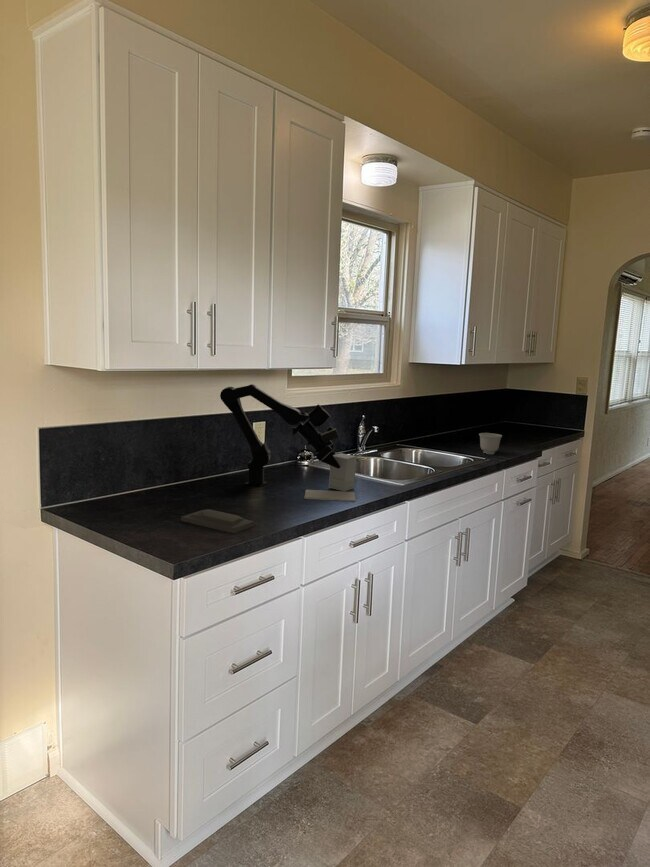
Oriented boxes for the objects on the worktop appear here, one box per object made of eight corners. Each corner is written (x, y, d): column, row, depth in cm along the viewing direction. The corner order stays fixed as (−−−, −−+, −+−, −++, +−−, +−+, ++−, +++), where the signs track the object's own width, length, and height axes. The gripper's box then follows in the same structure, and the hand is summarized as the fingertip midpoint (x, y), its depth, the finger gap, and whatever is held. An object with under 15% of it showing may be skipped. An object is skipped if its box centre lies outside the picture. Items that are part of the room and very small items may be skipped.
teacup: (494, 450, 351) (496, 432, 350) (503, 456, 337) (505, 436, 335) (472, 450, 351) (474, 431, 349) (481, 455, 336) (482, 435, 334)
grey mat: (304, 498, 230) (304, 497, 229) (305, 490, 241) (305, 489, 241) (355, 501, 229) (355, 500, 229) (354, 493, 241) (354, 492, 241)
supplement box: (354, 488, 249) (357, 456, 246) (344, 492, 243) (347, 458, 240) (338, 484, 253) (341, 452, 250) (327, 487, 247) (330, 455, 244)
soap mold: (203, 515, 205) (203, 504, 205) (254, 527, 195) (255, 516, 195) (180, 522, 197) (180, 511, 196) (233, 535, 187) (233, 524, 186)
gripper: (326, 424, 235) (356, 455, 236) (327, 417, 253) (354, 446, 255) (304, 445, 236) (333, 476, 238) (306, 436, 254) (333, 465, 256)
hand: (339, 465), depth 246 cm, fingers open, 9 cm apart
